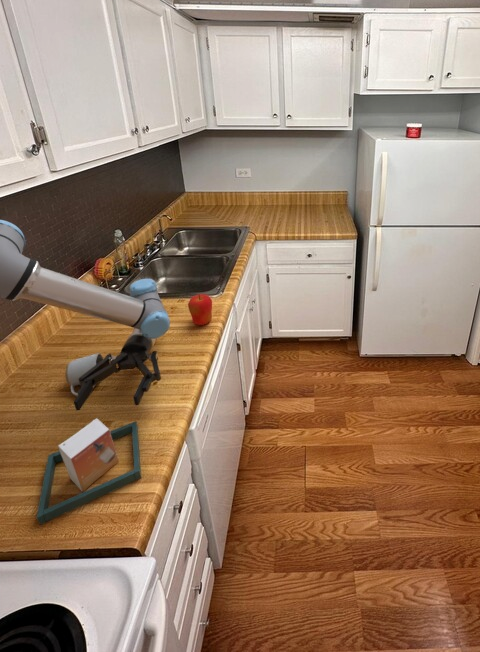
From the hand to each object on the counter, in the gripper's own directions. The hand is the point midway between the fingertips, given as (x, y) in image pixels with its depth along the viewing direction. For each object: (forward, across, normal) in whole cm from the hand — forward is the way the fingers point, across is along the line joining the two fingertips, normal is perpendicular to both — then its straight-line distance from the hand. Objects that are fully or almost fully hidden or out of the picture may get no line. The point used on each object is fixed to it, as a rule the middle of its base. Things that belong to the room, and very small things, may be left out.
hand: (106, 404), depth 80 cm
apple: (-43, +13, +10) cm, 46 cm away
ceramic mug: (-17, -15, +10) cm, 24 cm away
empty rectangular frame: (+10, 0, +9) cm, 13 cm away
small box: (+10, 0, +10) cm, 13 cm away
